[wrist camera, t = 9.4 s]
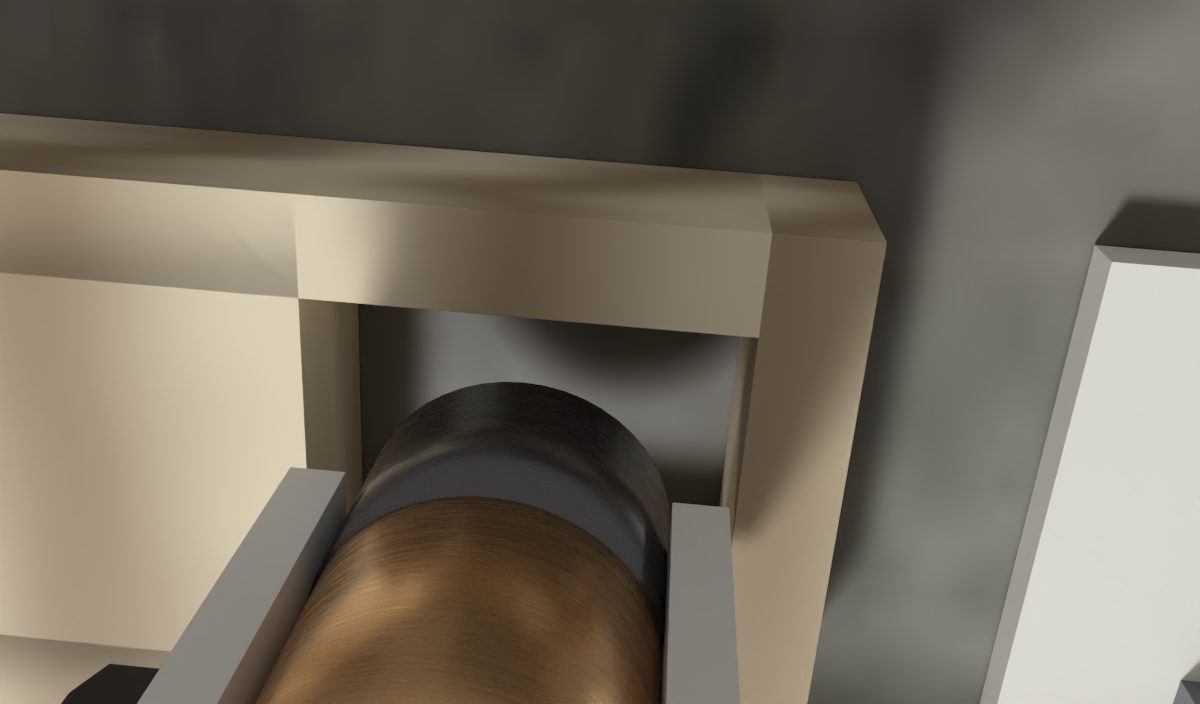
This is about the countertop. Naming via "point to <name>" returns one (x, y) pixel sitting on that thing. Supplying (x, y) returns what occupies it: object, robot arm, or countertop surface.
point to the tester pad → (1114, 503)
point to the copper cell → (491, 563)
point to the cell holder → (331, 353)
